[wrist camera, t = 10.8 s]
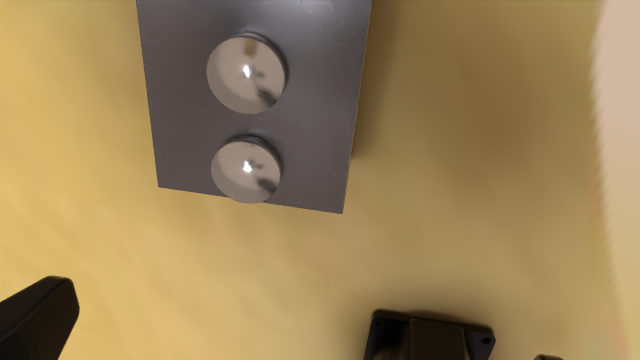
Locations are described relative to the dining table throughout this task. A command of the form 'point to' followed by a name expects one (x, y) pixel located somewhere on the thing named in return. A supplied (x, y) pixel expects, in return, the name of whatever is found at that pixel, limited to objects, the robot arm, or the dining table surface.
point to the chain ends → (255, 96)
